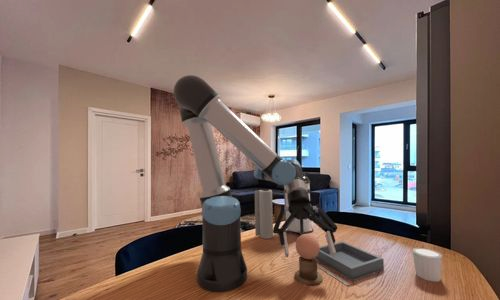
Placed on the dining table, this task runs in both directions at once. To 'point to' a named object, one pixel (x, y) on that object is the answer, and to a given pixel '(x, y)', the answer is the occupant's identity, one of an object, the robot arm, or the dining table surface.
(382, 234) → the dining table surface
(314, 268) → the tee
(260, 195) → the gray grooved column
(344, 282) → the line
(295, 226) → the coffee press
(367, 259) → the tray
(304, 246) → the ball
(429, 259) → the white short cylinder
